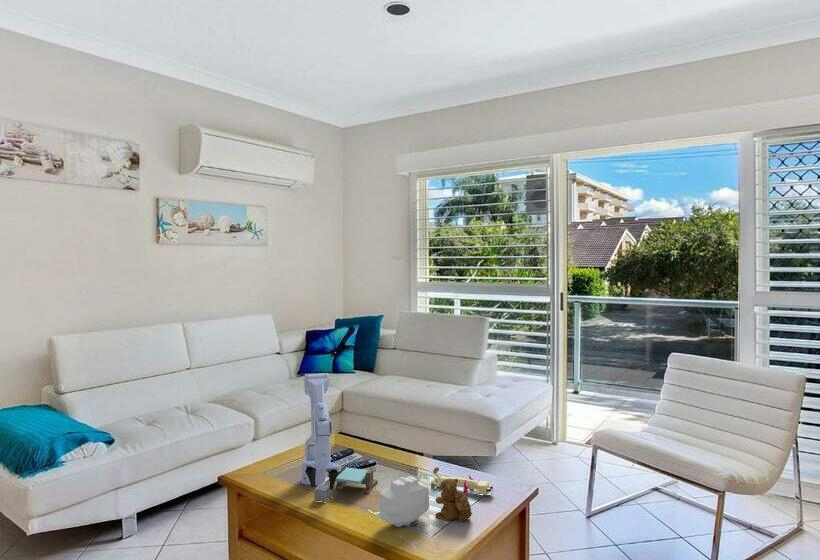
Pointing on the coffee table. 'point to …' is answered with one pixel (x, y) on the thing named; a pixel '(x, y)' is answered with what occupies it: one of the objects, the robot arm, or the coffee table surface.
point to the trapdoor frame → (369, 481)
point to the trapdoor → (352, 476)
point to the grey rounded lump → (404, 501)
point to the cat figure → (464, 483)
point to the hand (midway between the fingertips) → (322, 487)
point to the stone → (322, 493)
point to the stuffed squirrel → (452, 502)
